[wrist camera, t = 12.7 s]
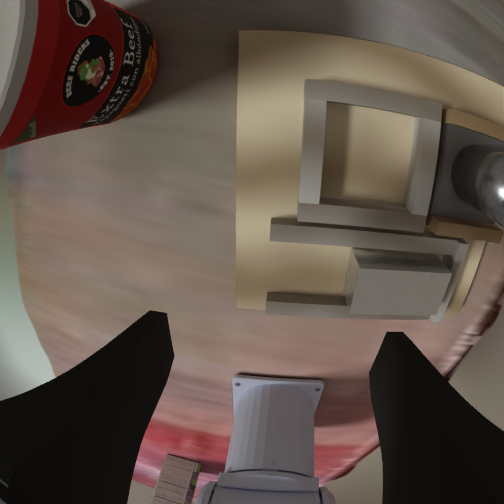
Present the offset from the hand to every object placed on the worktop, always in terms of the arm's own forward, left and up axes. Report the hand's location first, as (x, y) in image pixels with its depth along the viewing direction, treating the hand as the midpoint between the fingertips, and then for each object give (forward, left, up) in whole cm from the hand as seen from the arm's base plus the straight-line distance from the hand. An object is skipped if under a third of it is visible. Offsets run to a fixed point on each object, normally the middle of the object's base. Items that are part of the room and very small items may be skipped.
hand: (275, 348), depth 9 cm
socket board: (+3, -6, -10) cm, 12 cm away
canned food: (+11, +11, -10) cm, 18 cm away
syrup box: (-40, +12, -10) cm, 43 cm away
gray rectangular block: (-2, -7, -9) cm, 11 cm away
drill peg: (+5, -11, -8) cm, 15 cm away
